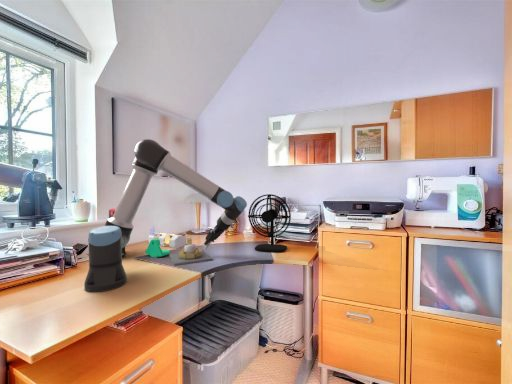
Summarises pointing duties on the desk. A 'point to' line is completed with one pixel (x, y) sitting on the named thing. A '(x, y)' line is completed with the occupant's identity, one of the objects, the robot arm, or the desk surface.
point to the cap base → (180, 261)
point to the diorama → (168, 239)
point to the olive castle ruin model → (189, 255)
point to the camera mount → (156, 249)
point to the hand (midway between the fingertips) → (204, 247)
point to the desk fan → (270, 217)
